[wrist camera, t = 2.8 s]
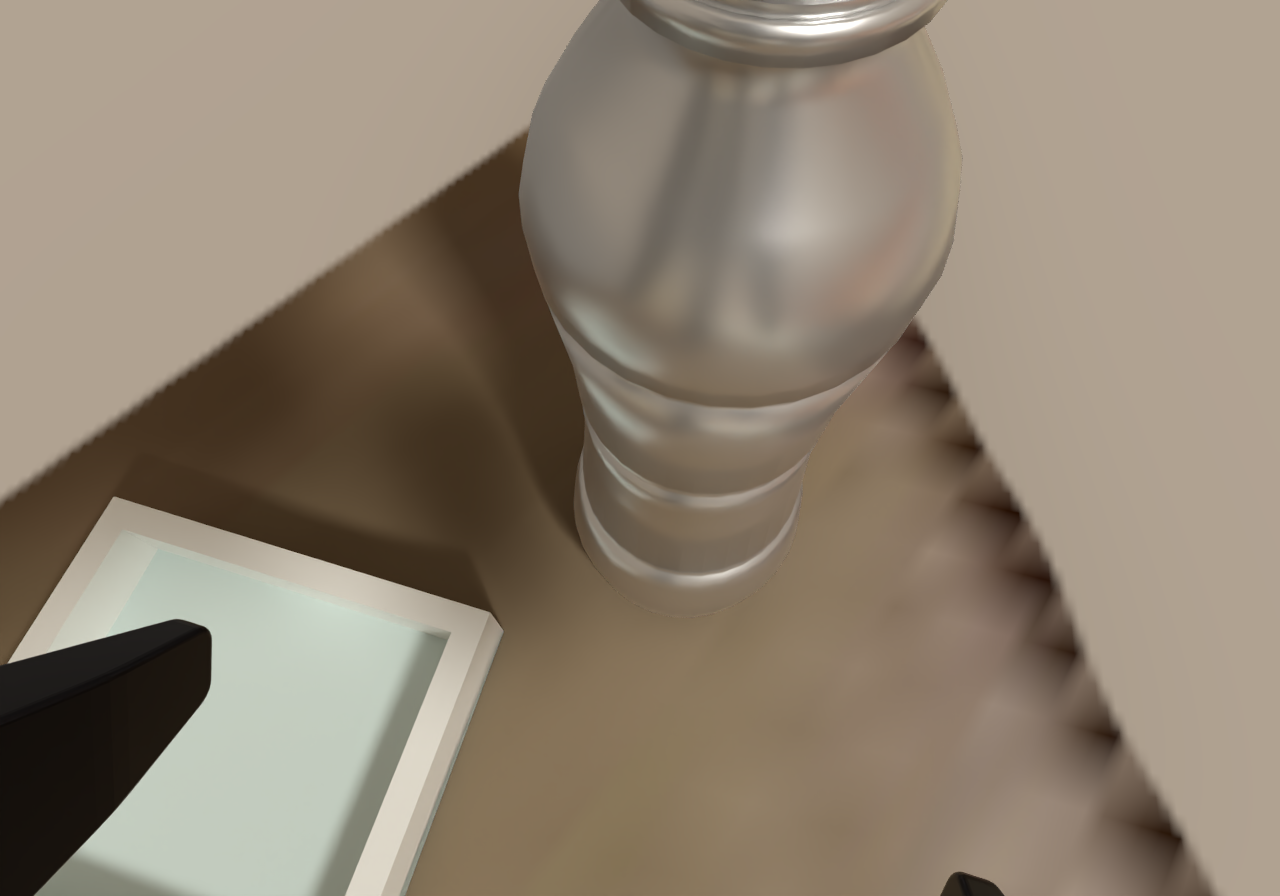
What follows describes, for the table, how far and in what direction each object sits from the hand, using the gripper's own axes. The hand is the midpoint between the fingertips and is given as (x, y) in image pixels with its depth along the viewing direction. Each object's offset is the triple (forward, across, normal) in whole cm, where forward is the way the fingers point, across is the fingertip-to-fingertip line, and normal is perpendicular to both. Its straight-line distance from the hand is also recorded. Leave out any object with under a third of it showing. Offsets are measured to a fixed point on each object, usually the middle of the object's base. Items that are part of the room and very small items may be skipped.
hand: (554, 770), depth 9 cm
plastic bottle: (+16, 0, +4) cm, 16 cm away
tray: (+8, +10, +11) cm, 17 cm away
